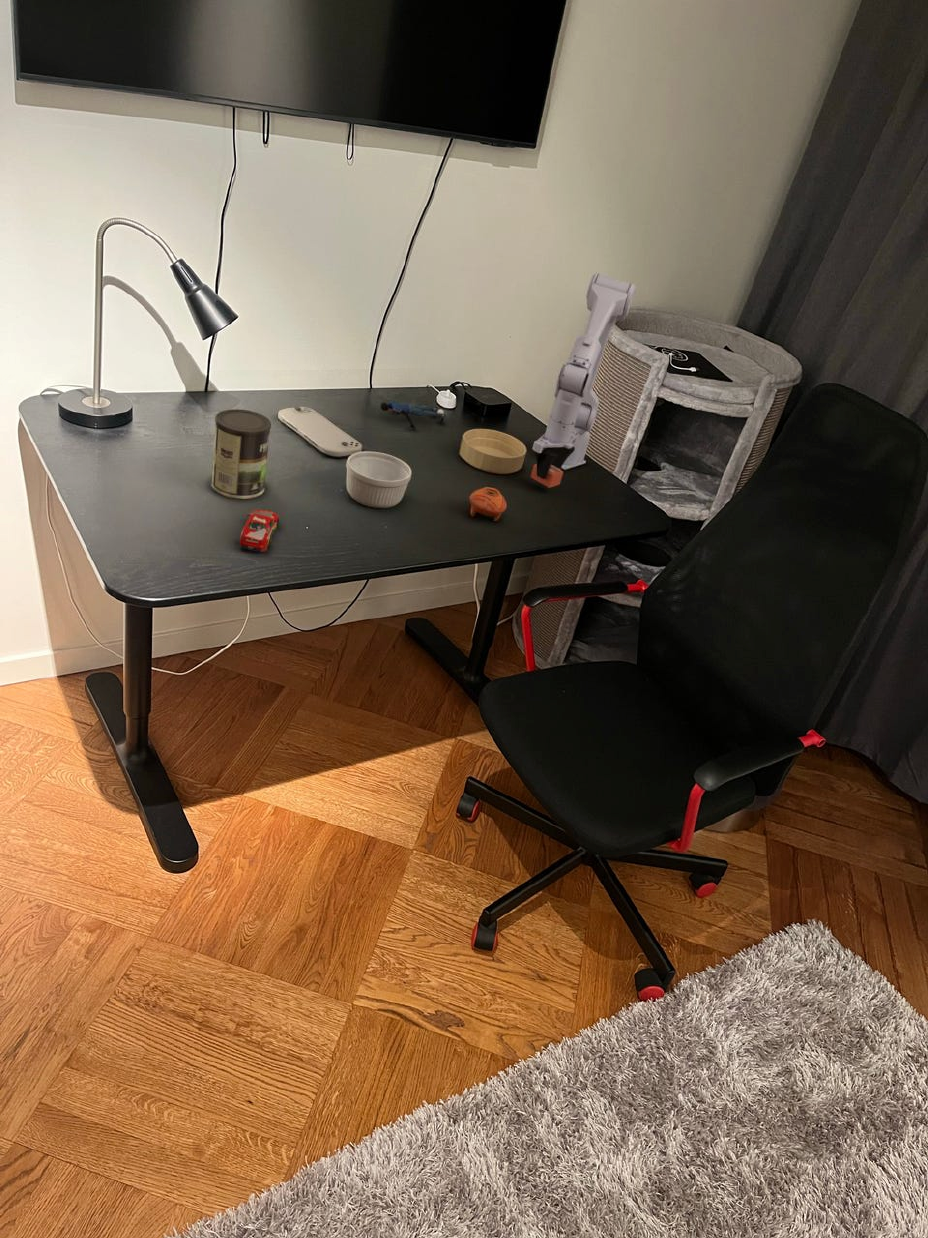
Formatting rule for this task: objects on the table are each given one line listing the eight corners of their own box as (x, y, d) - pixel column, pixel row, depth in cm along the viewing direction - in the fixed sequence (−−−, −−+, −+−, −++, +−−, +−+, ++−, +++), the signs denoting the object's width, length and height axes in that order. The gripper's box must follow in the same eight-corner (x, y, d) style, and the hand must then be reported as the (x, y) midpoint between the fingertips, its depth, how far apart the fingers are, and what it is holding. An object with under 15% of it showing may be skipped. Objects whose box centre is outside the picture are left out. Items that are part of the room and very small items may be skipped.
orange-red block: (540, 473, 210) (544, 459, 208) (559, 484, 207) (564, 470, 205) (530, 477, 207) (534, 462, 205) (549, 487, 204) (553, 473, 202)
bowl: (487, 441, 224) (491, 424, 222) (534, 467, 217) (539, 450, 215) (445, 452, 214) (449, 434, 211) (494, 480, 207) (498, 462, 204)
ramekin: (415, 495, 192) (421, 465, 189) (390, 518, 182) (396, 487, 178) (358, 474, 195) (363, 444, 191) (331, 497, 184) (335, 465, 180)
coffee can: (267, 479, 184) (274, 414, 176) (261, 503, 176) (267, 435, 168) (215, 470, 182) (219, 404, 175) (206, 494, 174) (210, 425, 166)
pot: (463, 501, 194) (477, 475, 191) (496, 516, 196) (510, 490, 192) (462, 518, 187) (477, 490, 184) (496, 533, 189) (511, 506, 185)
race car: (252, 516, 171) (254, 497, 169) (281, 522, 171) (283, 504, 169) (234, 550, 160) (235, 530, 158) (264, 557, 160) (266, 537, 158)
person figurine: (428, 417, 234) (367, 408, 223) (433, 400, 232) (372, 391, 221) (449, 435, 226) (387, 427, 216) (455, 418, 224) (392, 410, 214)
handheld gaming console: (273, 406, 208) (310, 402, 214) (272, 417, 209) (308, 413, 216) (331, 449, 195) (368, 444, 202) (329, 461, 197) (366, 455, 203)
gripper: (557, 432, 192) (541, 489, 199) (595, 421, 202) (578, 476, 209) (531, 418, 195) (516, 475, 203) (570, 408, 205) (554, 463, 213)
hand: (546, 475), depth 206 cm, fingers closed on orange-red block, 4 cm apart
